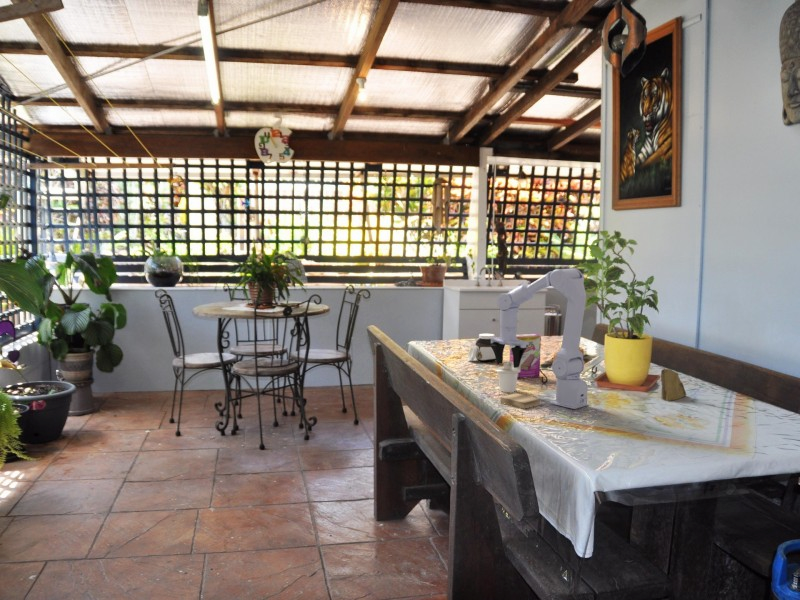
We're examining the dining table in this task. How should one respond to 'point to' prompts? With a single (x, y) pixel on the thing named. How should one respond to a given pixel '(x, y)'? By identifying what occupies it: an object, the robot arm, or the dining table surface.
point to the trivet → (520, 400)
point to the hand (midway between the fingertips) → (507, 365)
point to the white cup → (507, 382)
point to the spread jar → (482, 349)
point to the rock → (671, 385)
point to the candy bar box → (529, 356)
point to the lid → (507, 369)
